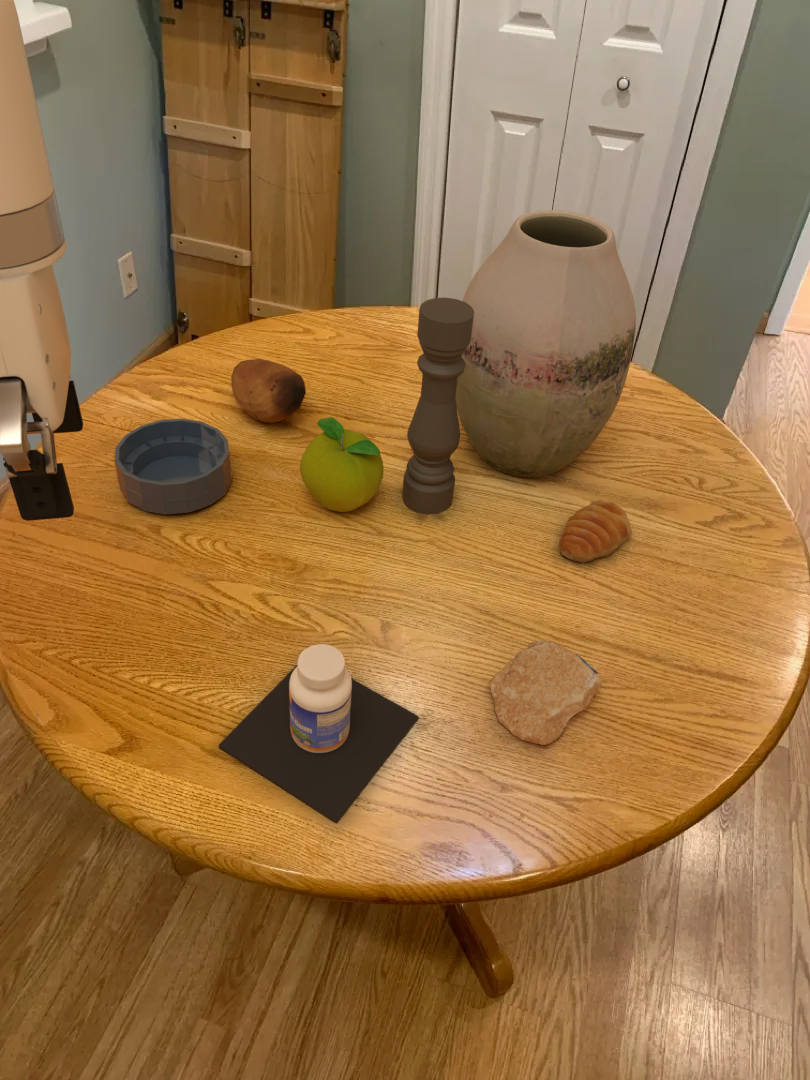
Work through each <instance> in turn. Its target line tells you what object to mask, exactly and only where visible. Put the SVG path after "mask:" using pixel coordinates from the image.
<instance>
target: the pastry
mask: <svg viewBox="0 0 810 1080" xmlns="http://www.w3.org/2000/svg"><path fill="white" fill-rule="evenodd" d="M632 535H633V529H632V527H631V522H630V520H629V518H628V515H627V513H626V511H625V509H623V508H622V507H621V506H619V505H618V504H616V503H614V502H612V501H606V500H605V501H604V500H603V499H602V500H601V499H598V500H594V501H591V502H590V503H589V504H588V505H586V506H583V507H581V508H579V509H578V510H576V511H575V512H574V513H573V515H571V517H570V518H568V520H567V522H566V524H565V526H564V528H563V531H562V535H561V537H560V539H559V551H560V552H559V553H560V554H561V555H562V556H565V557H566V558H568V559H569V560H572V561H574V562H578V563H588V562H593V561H594V560H596V559H603V558H604V557H605V558H606V557H607V556H609V555H610V554H611V553H613V552H614V551H616V550H617V549H618V548H619V547H621V546H622V545H623V544H624V543H625V541H626V540H628V539H629V538H630V537H632Z"/></svg>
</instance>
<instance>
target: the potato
mask: <svg viewBox="0 0 810 1080" xmlns="http://www.w3.org/2000/svg"><path fill="white" fill-rule="evenodd" d="M230 378H231V379H230V380H231V381H230V382H231V389H232V394H233V397H234V399H235V401H236V402H237V404H238V405H239V406H240V408H241V409H242V410H243V411H244V412H245V413H246V414H247V415H248V416H250V417H252V418H253V419H256V420H257V421H261V422H264V423H278V422H281V421H283V420H285V419H288V418H290V417H292V416H293V415H294V414H295V413H296V412H298V410H299V409H300V408H301V407H302V404H303V401H304V399H305V396H306V394H307V389H306V383H305V381H304V378H303V376H302V375H301V374H299V373H298V372H296V371H294V370H293V368H292V369H291V368H290V367H288V366H286V365H284V364H281V363H278V362H275V361H273V360H272V361H271V360H268V359H261V358H255V359H253V358H252V359H246V360H243V361H242V360H241V361H240V362H239V363H238V364H236V366H234V367H233V370H232V373H231V377H230Z"/></svg>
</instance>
